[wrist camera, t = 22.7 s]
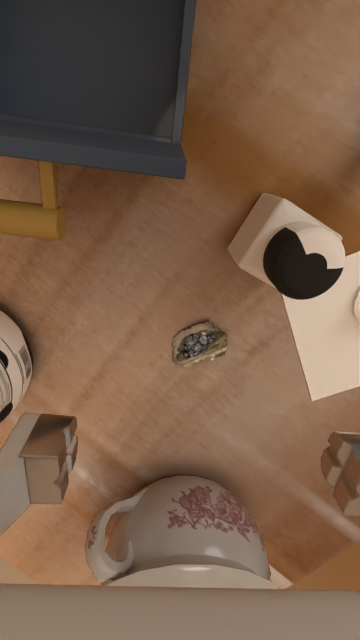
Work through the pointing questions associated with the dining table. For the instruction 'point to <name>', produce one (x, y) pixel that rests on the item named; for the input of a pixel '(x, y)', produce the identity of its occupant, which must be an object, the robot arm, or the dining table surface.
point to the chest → (97, 65)
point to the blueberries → (198, 344)
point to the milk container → (13, 365)
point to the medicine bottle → (288, 249)
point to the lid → (79, 151)
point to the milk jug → (179, 539)
